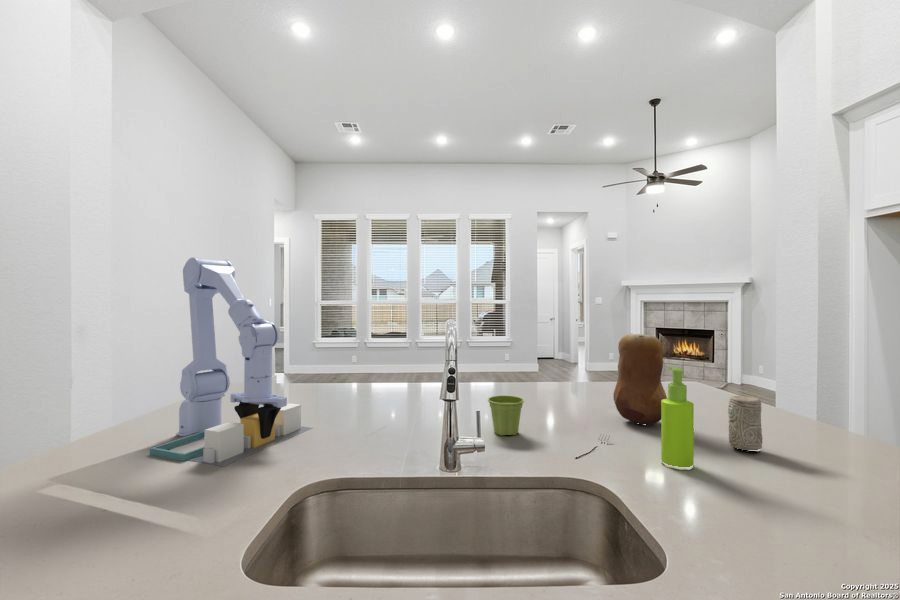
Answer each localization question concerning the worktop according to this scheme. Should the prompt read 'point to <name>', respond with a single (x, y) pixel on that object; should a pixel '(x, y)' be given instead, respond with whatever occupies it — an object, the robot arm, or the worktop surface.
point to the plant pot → (506, 413)
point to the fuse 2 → (289, 418)
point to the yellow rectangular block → (255, 430)
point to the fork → (604, 439)
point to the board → (245, 448)
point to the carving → (745, 423)
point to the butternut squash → (639, 379)
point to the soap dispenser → (677, 424)
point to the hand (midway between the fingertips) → (257, 436)
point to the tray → (166, 453)
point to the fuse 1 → (225, 440)
